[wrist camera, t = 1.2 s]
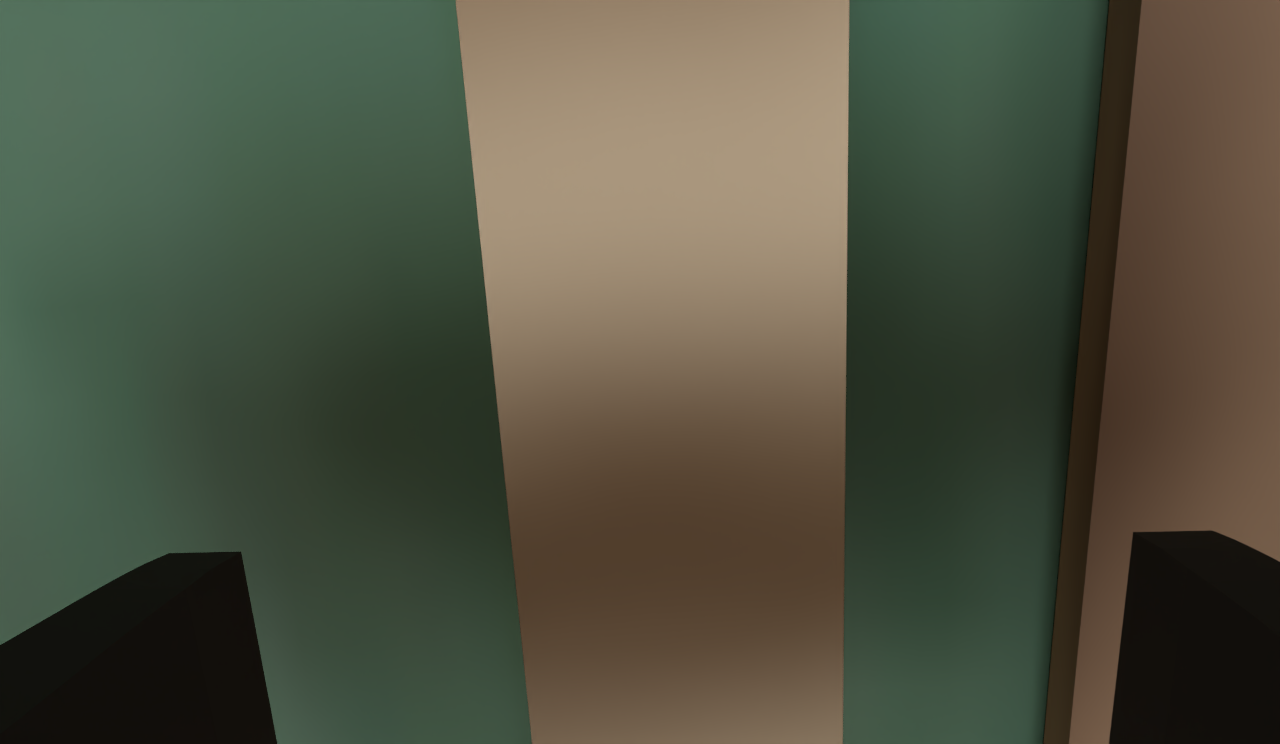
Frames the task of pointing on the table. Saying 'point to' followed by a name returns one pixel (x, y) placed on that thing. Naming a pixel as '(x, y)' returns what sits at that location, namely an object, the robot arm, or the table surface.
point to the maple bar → (669, 357)
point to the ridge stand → (1171, 322)
